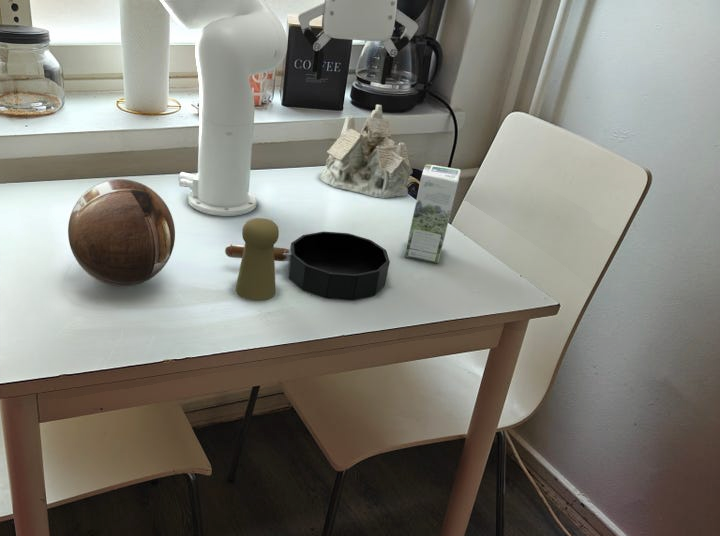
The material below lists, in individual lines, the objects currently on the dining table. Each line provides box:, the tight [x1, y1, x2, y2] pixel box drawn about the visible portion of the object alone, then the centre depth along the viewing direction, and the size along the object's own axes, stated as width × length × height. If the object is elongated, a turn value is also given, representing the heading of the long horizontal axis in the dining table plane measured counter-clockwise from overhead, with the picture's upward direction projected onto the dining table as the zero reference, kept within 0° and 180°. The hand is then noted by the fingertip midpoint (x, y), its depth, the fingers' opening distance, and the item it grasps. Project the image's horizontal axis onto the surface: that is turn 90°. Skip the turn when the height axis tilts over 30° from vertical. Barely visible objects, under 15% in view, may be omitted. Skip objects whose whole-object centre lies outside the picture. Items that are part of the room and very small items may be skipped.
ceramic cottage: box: [319, 104, 413, 199], centre depth 142 cm, size 16×16×15 cm
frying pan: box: [224, 231, 391, 301], centre depth 110 cm, size 25×15×4 cm, turn 88°
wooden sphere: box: [67, 178, 176, 287], centre depth 101 cm, size 15×15×15 cm
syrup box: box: [404, 163, 462, 264], centre depth 116 cm, size 6×6×14 cm
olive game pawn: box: [234, 217, 280, 302], centre depth 103 cm, size 6×6×11 cm
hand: (349, 80), depth 107 cm, fingers open, 9 cm apart
